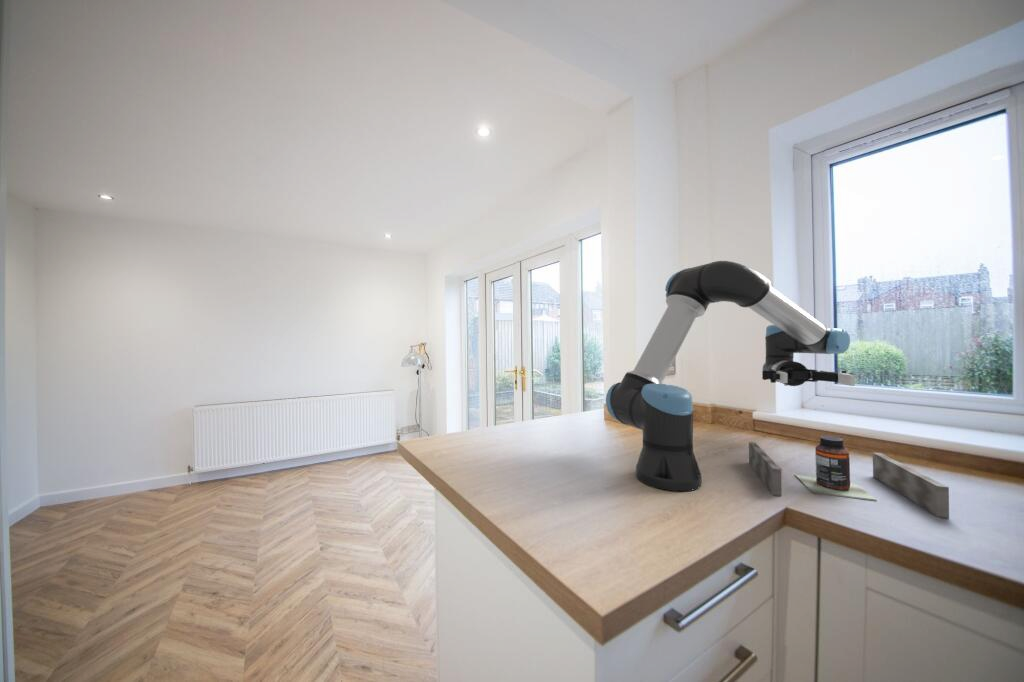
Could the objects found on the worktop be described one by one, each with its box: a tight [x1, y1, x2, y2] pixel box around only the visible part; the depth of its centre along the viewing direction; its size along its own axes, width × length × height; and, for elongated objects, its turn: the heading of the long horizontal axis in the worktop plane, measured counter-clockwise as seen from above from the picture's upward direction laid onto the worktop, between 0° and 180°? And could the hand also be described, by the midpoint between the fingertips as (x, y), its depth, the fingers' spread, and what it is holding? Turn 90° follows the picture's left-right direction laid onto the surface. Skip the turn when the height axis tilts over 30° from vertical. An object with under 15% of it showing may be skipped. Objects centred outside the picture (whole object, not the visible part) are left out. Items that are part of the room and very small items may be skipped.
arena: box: [748, 441, 950, 519], centre depth 83 cm, size 22×28×6 cm
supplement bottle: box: [814, 435, 851, 490], centre depth 82 cm, size 6×6×11 cm
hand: (818, 379), depth 89 cm, fingers open, 13 cm apart
